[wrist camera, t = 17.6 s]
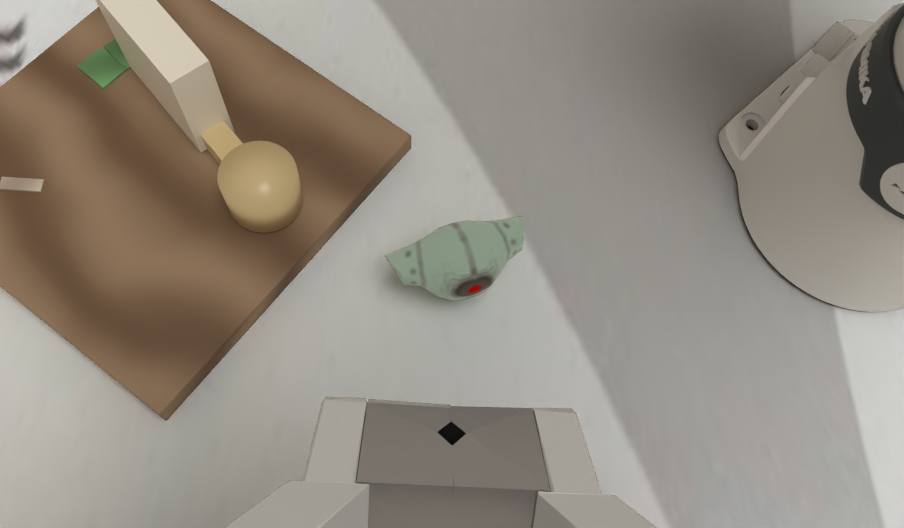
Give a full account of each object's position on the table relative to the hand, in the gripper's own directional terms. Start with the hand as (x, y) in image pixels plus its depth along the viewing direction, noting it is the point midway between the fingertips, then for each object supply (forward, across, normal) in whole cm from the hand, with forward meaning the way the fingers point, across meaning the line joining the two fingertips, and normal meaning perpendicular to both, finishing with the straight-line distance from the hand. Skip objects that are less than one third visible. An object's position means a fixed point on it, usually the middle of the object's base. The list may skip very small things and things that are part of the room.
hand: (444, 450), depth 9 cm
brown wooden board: (+39, +16, +8) cm, 43 cm away
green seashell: (+34, -2, +13) cm, 37 cm away
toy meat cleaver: (+39, +14, +5) cm, 42 cm away
